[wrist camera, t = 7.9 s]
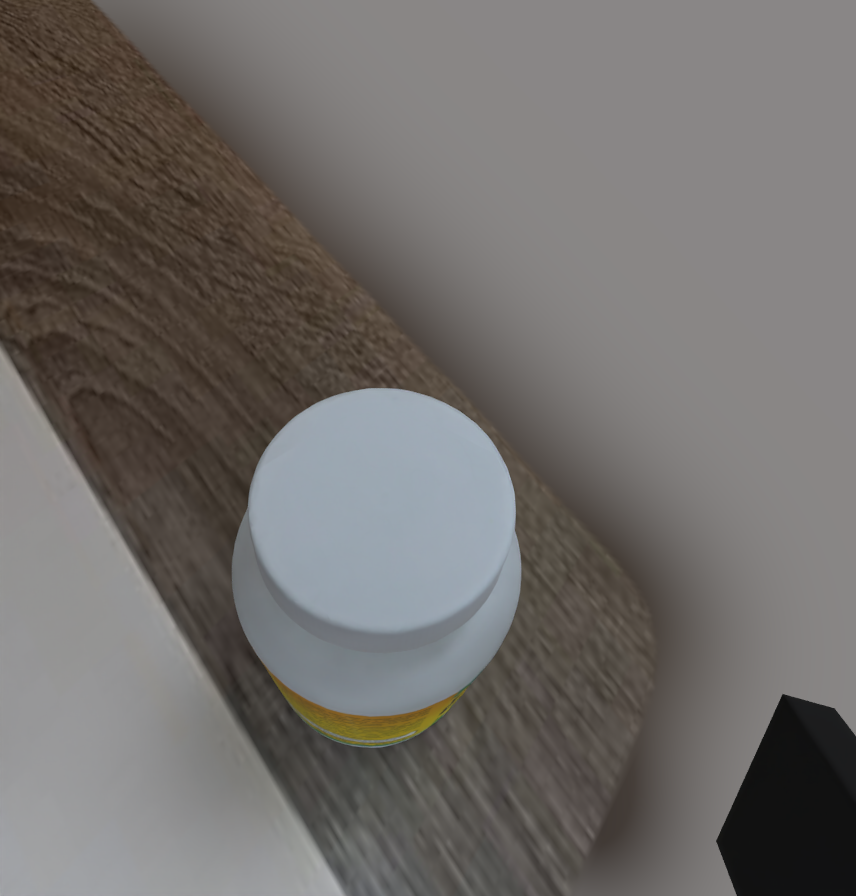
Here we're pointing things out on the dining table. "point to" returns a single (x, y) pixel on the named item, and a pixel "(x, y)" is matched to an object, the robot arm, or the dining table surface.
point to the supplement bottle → (377, 562)
